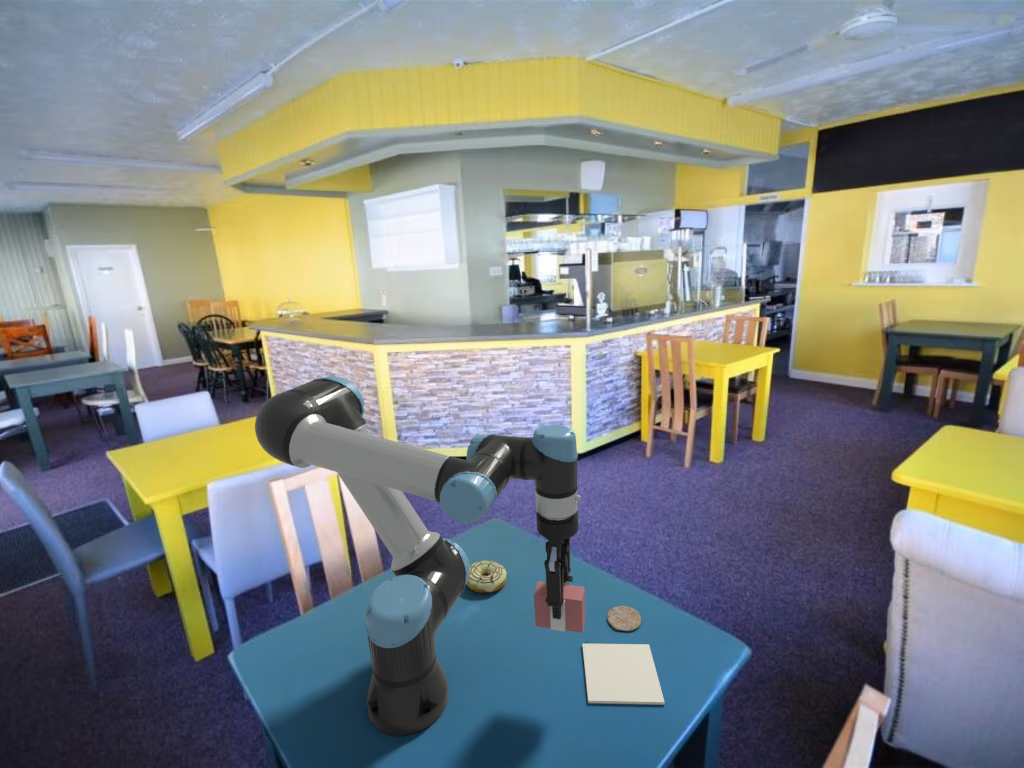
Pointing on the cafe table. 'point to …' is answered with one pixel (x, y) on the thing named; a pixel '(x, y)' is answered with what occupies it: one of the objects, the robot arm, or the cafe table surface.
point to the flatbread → (624, 618)
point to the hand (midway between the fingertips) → (560, 620)
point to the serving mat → (621, 674)
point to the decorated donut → (486, 576)
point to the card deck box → (572, 607)
